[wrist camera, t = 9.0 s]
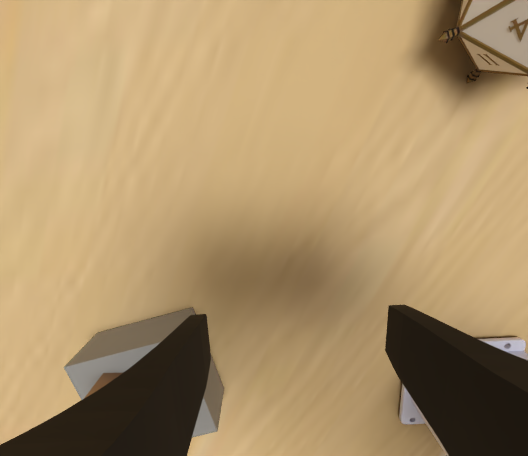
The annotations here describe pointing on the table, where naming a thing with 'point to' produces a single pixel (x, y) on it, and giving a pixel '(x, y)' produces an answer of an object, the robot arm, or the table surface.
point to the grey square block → (131, 351)
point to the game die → (493, 35)
